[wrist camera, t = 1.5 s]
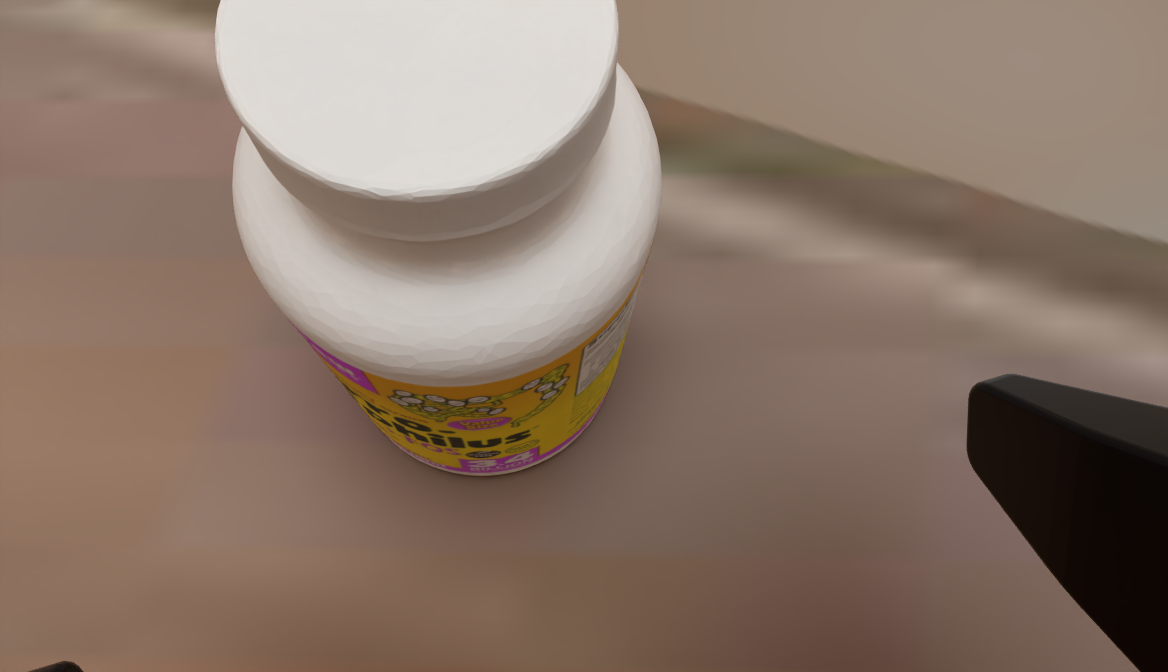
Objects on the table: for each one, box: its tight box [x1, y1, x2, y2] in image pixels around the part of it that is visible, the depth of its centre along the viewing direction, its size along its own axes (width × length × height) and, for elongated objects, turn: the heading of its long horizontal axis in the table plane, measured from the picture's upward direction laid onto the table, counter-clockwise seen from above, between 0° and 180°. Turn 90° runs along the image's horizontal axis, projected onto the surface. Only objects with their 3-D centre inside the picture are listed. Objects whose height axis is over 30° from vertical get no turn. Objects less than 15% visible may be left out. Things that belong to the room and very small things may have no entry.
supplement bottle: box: [215, 0, 662, 476], centre depth 16 cm, size 7×7×13 cm
